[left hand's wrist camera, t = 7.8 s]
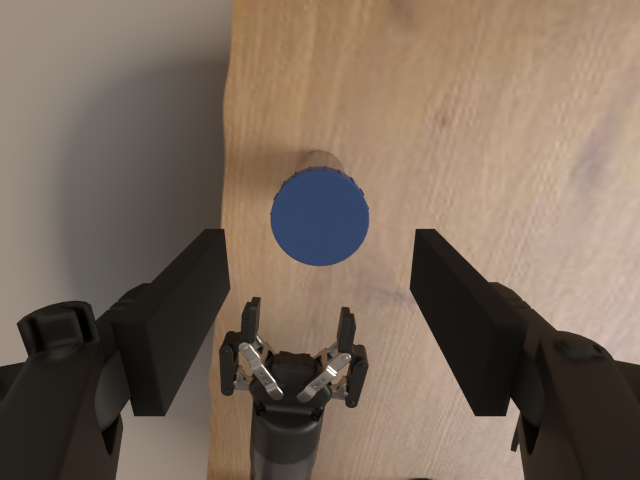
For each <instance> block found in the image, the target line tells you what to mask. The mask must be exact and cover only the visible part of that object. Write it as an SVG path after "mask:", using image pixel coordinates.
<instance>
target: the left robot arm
mask: <svg viewBox="0 0 640 480" xmlns="http://www.w3.org/2000/svg"><path fill="white" fill-rule="evenodd" d="M229 291H230V281H229V271H228V261H227V252H226V242H225V232H224V229H205V230H204V231H203V232H202V233H201V234H200V235H199V236H198V237H197V238H196V239H195V240H194V241H193V242H192V243H191V244H190V245H189V246H188V247H187V248H186V249H185V250H184V251H183V252H182V253H181V254H180V255H179V256H178V257H177V258H176V259H175V260H174V261H173V262H172V263H171V264H170V265H169V266H168V267H167V268H166V269H165V270H164V271H162V272H161V273H160V274H159V275H158V276H157V277H156V278H155V279H154V280H153V281H152V282H151V283H143V284H141V285H139V286H137V287H135V288H133V289H131V290H129V291H128V292H127V293H126V294H124V295H123V296H122V297H121V298H120V299H119V300H118V302H116V303H115V304H114V305H112V306H111V307H110V310H107V311H106V312H105V313H104V314H103V315H101V316H100V317H99V318H98V319H97V320H96V321H95V318H94V314H93V311H92V307H91V305H90V304H88V303H87V302H82V301H68V302H61V303H57V304H53V305H49V306H46V307H44V308H41V309H38V310H36V311H34V312H32V313H30V314H28V315H27V316H25V317H23V318H22V319H21V320H20V321H19V322H18V323H17V326H18V329H19V332H20V334H21V337H22V340H23V342H24V345H25V348H26V351H27V353H28V356H29V357H28V358H27V360H26V362H22V363H17V364H12V365H6V366H1V367H0V480H115V479H116V472H117V466H118V459H119V452H120V445H121V438H122V432H123V423H122V418H121V414H120V412H121V411H122V409H123V408H124V406H125V405H126V403H127V402H128V400H129V399H130V401H131V405H132V409H133V413H134V416H165V415H166V413H167V411H168V409H169V407H170V405H171V403H172V401H173V399H174V397H175V395H176V393H177V391H178V389H179V388H180V386H181V384H182V382H183V380H184V378H185V376H186V374H187V372H188V370H189V368H190V366H191V364H192V362H193V360H194V358H195V357H196V355H197V353H198V351H199V349H200V347H201V345H202V343H203V341H204V339H205V337H206V335H207V333H208V331H209V329H210V327H211V326H212V324H213V322H214V320H215V318H216V316H217V314H218V312H219V310H220V308H221V306H222V304H223V302H224V300H225V298H226V296H227V295H228V293H229ZM410 291H411V293H412V295H413V296H414V298H415V300H416V302H417V304H418V306H419V308H420V310H421V312H422V314H423V316H424V318H425V320H426V322H427V324H428V326H429V327H430V329H431V331H432V333H433V335H434V337H435V339H436V341H437V343H438V345H439V347H440V349H441V351H442V353H443V355H444V357H445V358H446V360H447V362H448V364H449V366H450V368H451V370H452V372H453V374H454V376H455V378H456V380H457V382H458V384H459V386H460V388H461V389H462V391H463V393H464V395H465V397H466V399H467V401H468V403H469V405H470V407H471V409H472V411H473V413H474V415H475V416H506V413H507V409H508V405H509V401H510V397H511V398H512V400H513V401H514V403H515V404H516V406H517V407H518V409H519V410H520V414H519V418H518V422H517V426H516V429H515V433H514V437H513V440H512V445H511V451H514V452H516V450H517V446H518V444H520V451H521V458H522V465H523V471H524V478H525V480H640V365H637V364H632V363H626V362H621V361H616V360H614V359H613V358H612V356H611V355H610V354H609V353H608V351H607V350H606V349H605V348H603V347H602V346H600V345H599V344H597V343H596V342H594V341H592V340H590V339H588V338H585V337H583V336H581V335H577V334H574V333H570V332H565V331H557V330H556V329H555V328H553V327H552V326H551V325H550V324H549V323H548V322H547V321H546V320H545V319H544V318H542V317H541V316H540V315H539V314H538V313H537V312H536V311H535V310H534V309H531V307H530V306H529V305H528V304H527V303H526V302H525V301H522V298H520V297H519V296H518V295H517V294H516V293H515V292H514V291H513V290H511V289H509V288H507V287H505V286H504V285H502V284H500V283H498V282H488V281H487V280H486V279H485V278H484V277H483V276H482V275H481V274H480V273H479V272H478V271H476V270H475V269H474V268H473V267H472V266H471V265H470V264H469V263H468V262H467V261H466V260H465V259H464V258H463V257H462V256H461V255H460V254H459V253H458V252H457V251H456V250H455V249H454V248H453V247H452V246H451V245H450V244H449V243H448V242H447V241H446V240H445V239H444V238H443V237H442V236H441V235H440V234H439V233H438V232H437V231H436V230H435V229H416V232H415V242H414V252H413V261H412V271H411V281H410Z"/></svg>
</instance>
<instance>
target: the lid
mask: <svg viewBox="0 0 640 480" xmlns="http://www.w3.org/2000/svg"><path fill="white" fill-rule="evenodd" d="M368 210H369V207H368V205H367V203H366V201H365V199H364V193H363V192H362V190H361V188H360V189H359V187H358V186H357V184H356V183H355V182H354V180H353V178H352V177H351V178H350V177H349V176H348V175H346V174H345V173H343V172H341V170H340V169H338V170H337V169H334V168H330V167H326V165H324V167H322V166H318V167H311V166H309V168H306V169H303V170H301V171H299V172H297V171H296V172H295V173H294V175H292V176H291V177H290V178H289V179H288V180H287V181H284V182H283V184H282V186H281V189H280V191H279V193H277V194H276V196H275V197H274V203H273V206H272V210H271V213H270V215H271V227H272V231H273V234H274V237H275V239H276V241H277V243H278V244H279V246H280V247H281V248H282V249H283V250H284V251H285V252H286V253H287V254H288V255H289V256H291V257H292V258H294V259H295V260H297V261H299V262H302V263H305V264H308V265H313V266H327V265H332V264H335V263H338V262H341V261H343V260H345V259H346V258H348V257H349V256H351V255H352V254H353V253H354V252H355V251H356V250H357V249H358V248H359V247H360V245H361V244H362V242H363V241H364V239H365V237H366V234H367V231H368V227H369V211H368Z"/></svg>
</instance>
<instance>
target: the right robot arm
mask: <svg viewBox="0 0 640 480" xmlns="http://www.w3.org/2000/svg"><path fill="white" fill-rule="evenodd" d="M260 301H261V298H260V297H253V298H252V301H251V302H247V303H246V305H245V308H244V310H243V313H242V321H241V332H238V333H236V332H234V331H229V332H227V334H226V336H225V339H224V342H223V344H222V345H221V347H220V350H219V356H220V376H221V392H222V394H224V395H226V396H230V395H232V394H233V392H234V389H237V390H249V391H250V393H251V395H252V397H253V409H252V423H251V438H250V461H251V469H250V480H310V478H311V472H312V468H313V466H314V463H315V460H316V456H317V450H318V444H319V438H320V432H321V426H322V420H323V415H324V409H325V405H326V403H327V402H328V401H329V400H330V399H331V398H334V399H341V400H345V402H346V406H347V407H349V408H354V407H356V406H357V404H358V401H359V397H360V394H361V390H362V387H363V383H364V380H365V377H366V373H367V370H368V366H369V365H368V360H367V355H366V349H365V347H364V346H363V345H357V346H356V345H354V344H353V340H354V335H355V330H356V323H355V318H354V314H352V313H350V309H349V307H342V308H341V314H340V319H339V325H338V331H337V341H336V342H335V343H334V344H333V345H331V346H330V347H329V348H324V349H323V350H322V351H320V352H319V353H318V354H317V355H316V356H314V357H313V358H312V357H310V354H304V353H302V354H292V353H289V352H284V351H280V353H279V354H276V353H275V352H274V350H273V349H272V348H271V346H270V345H269V344H268V343H267V342H264V341H263V340H262V339H261V337H260V336H259V335H258V333H257V332H258V328H259V315H260ZM239 351H240V352H241V353H242V354H243V356H244V357H245V358H246V359H247V360H248V362H249V363H250V368H251V370H252V372H253V375H252V376H251V377H250V376H247V375H246V374H245V371H244V369H243V366H242V365H239V359H238V352H239ZM347 363H350V365H349V369H348V372H347V376H342V379H340V381H339V382H338V383H337V384H335V385H332V383H331V380H332V379H334V377H335V376H336V373H337V372H338V371H339V370H340V369H341V368H342V367H344V366H345V365H346V364H347ZM321 367H322V368H321ZM421 480H428V479H421Z"/></svg>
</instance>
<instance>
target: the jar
mask: <svg viewBox="0 0 640 480" xmlns="http://www.w3.org/2000/svg"><path fill="white" fill-rule="evenodd" d="M324 165H326V167H330V168H334V169H337V170H338V169H340V170H341V172H343V173H345V171H344V169H343V167H342V164H341V162H340V161H339V160H338V158H337V157H336V156H334V155H333V154H331V153H329V152H326V151H314V152H311V153H309V154H307V155H306V156H304V157H303V158H302V160H301V161H300V162H299V164H298V167H297V169H296V171H297V172H299V171H301V170H303V169H306V168H309V166H311V167H318V166H322V167H324ZM296 171H295V172H296ZM345 174H346V173H345Z"/></svg>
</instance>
